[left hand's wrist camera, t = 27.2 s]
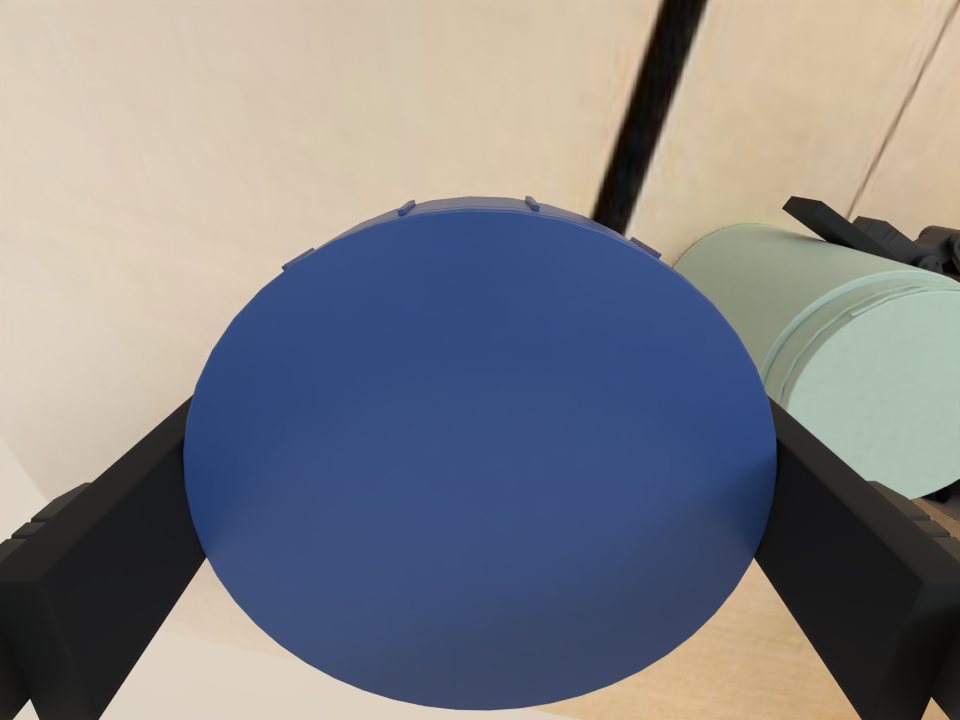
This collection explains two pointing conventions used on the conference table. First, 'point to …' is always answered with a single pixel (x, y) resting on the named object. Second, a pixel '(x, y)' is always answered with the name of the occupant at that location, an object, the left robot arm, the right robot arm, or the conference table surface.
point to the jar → (845, 346)
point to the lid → (480, 456)
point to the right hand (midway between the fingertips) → (728, 293)
